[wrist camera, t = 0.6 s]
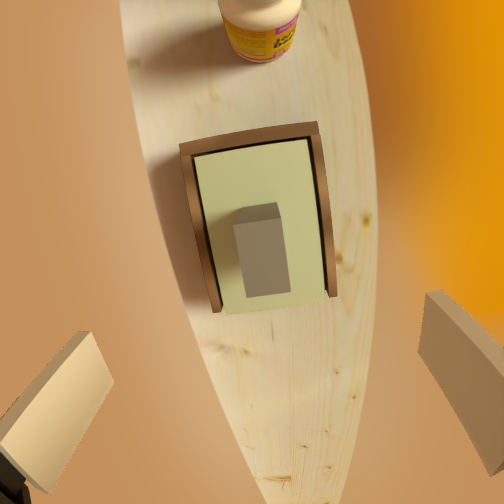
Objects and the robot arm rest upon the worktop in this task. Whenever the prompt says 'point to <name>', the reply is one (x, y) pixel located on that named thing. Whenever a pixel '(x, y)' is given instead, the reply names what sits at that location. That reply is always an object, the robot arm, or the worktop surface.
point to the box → (250, 140)
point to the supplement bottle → (260, 27)
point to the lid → (263, 226)
